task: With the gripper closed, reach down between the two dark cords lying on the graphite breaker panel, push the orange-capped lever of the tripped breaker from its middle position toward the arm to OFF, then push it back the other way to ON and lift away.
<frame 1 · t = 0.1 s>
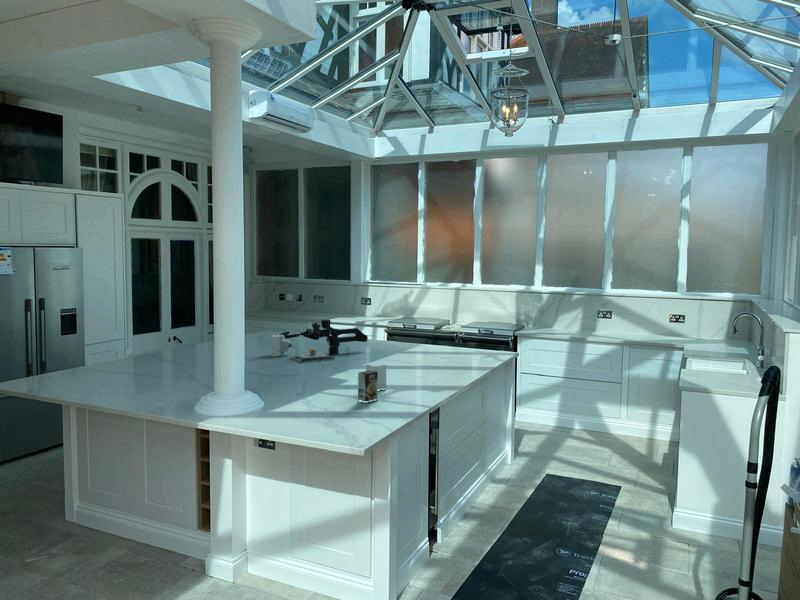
hand: (301, 335, 463), 17 cm above the table, tool horizontal, fingers open, 9 cm apart
breaker panel: (312, 359, 458), on the table
breaker lever: (312, 352, 457), point 5 cm above the table, slide at 0.0 cm
supplement box: (376, 390, 366), on the table
coffee box: (367, 401, 340), on the table
circuit breaker: (281, 355, 471), on the table
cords: (312, 356, 458), in the breaker panel, point 1 cm above the table
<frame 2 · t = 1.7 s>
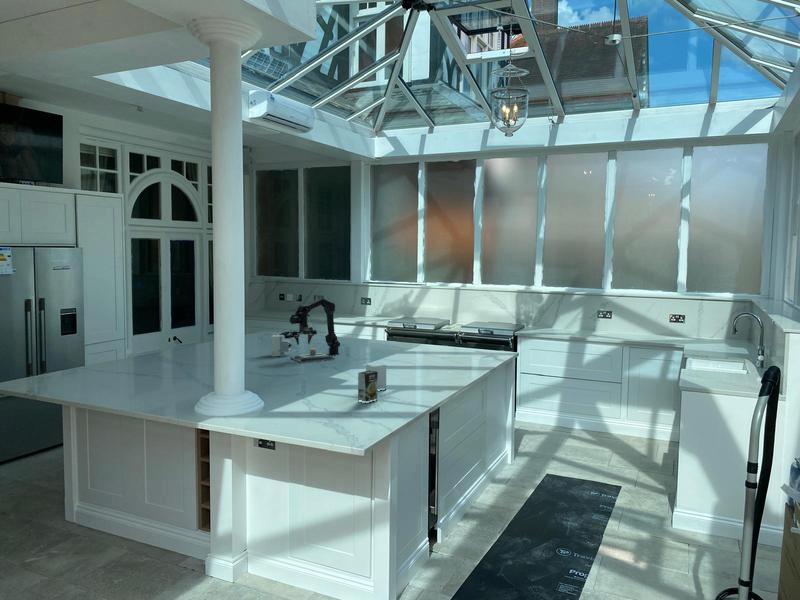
hand: (303, 344, 453), 11 cm above the table, tool pointing down, fingers open, 8 cm apart
nothing on the table moved.
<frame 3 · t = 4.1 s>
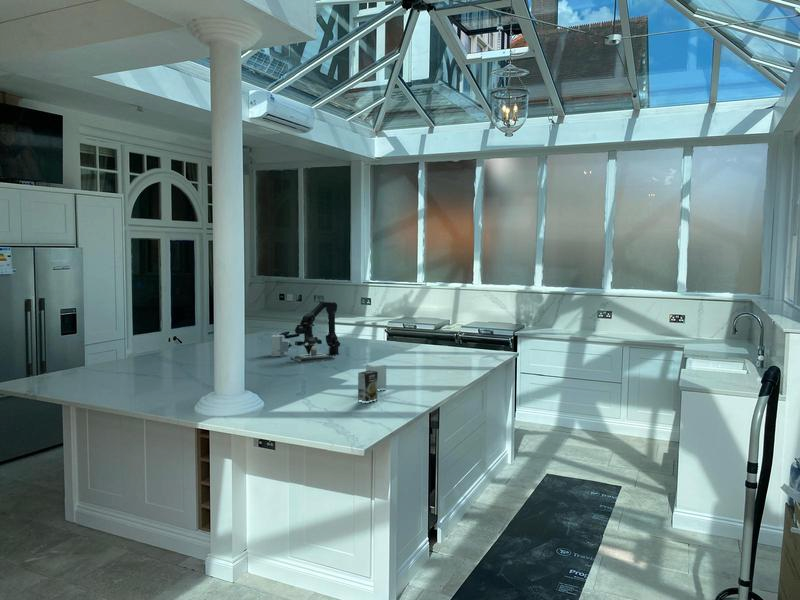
hand: (308, 354, 456), 4 cm above the table, tool pointing down, fingers closed
breaker lever: (313, 352, 458), point 5 cm above the table, slide at -0.8 cm, touching gripper
everything else where it was.
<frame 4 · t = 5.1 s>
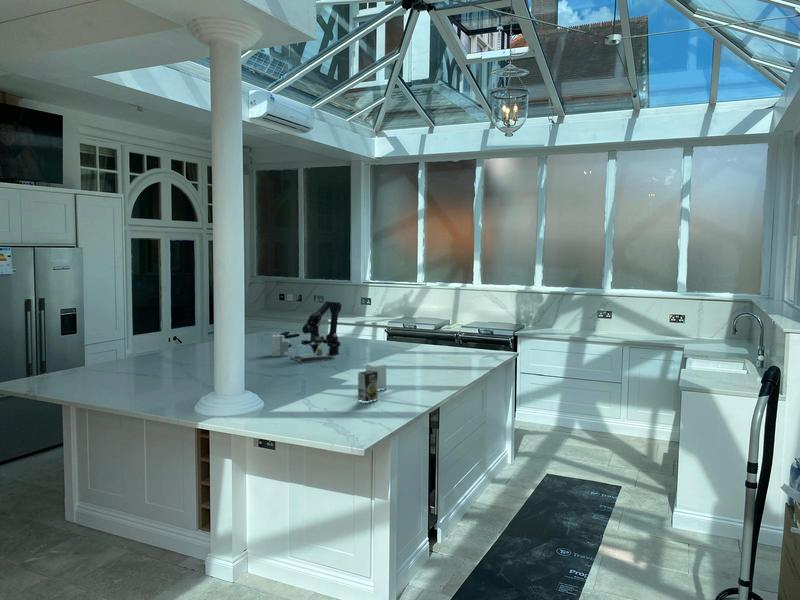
hand: (314, 353, 458), 4 cm above the table, tool pointing down, fingers closed
breaker lever: (319, 352, 460), point 5 cm above the table, slide at -5.2 cm, touching gripper
everything else where it was.
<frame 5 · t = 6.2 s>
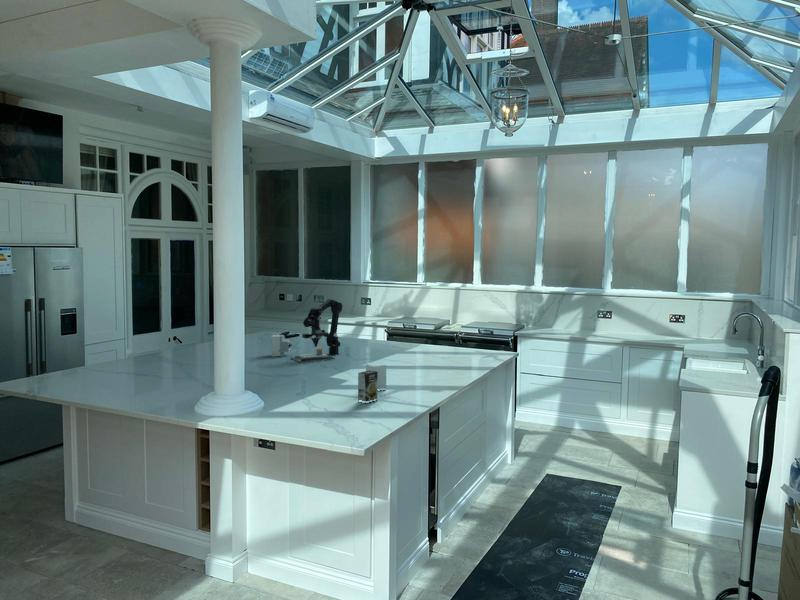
hand: (315, 346, 458), 9 cm above the table, tool pointing down, fingers closed
breaker lever: (319, 352, 460), point 5 cm above the table, slide at -5.1 cm
everything else where it was.
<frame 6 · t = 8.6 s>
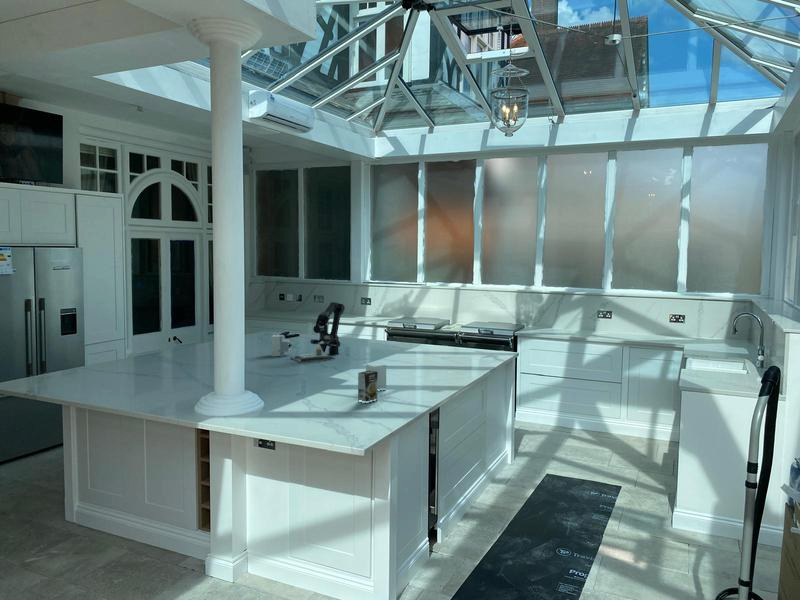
hand: (323, 352, 462), 4 cm above the table, tool pointing down, fingers closed
breaker lever: (318, 352, 460), point 5 cm above the table, slide at -4.7 cm, touching gripper
everything else where it was.
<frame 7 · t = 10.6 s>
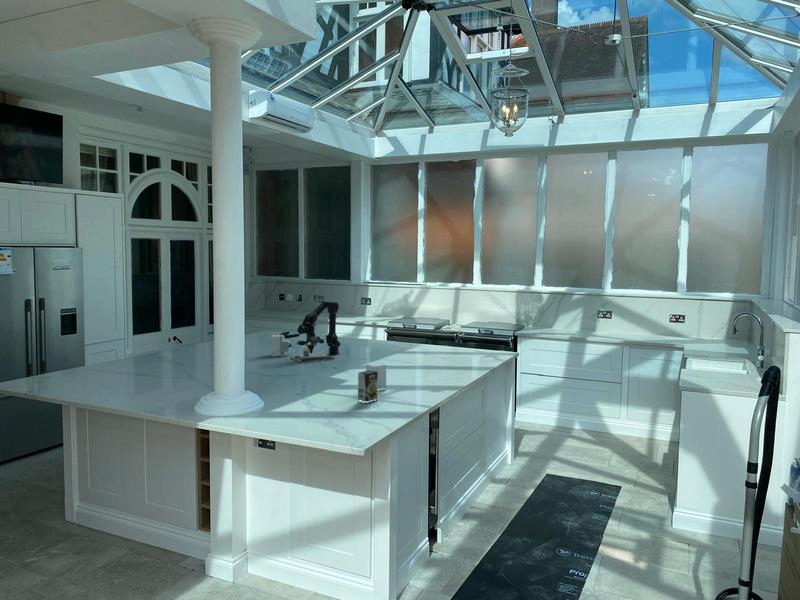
hand: (311, 353, 457), 4 cm above the table, tool pointing down, fingers closed
breaker lever: (306, 353, 455), point 5 cm above the table, slide at 5.2 cm, touching gripper
everything else where it was.
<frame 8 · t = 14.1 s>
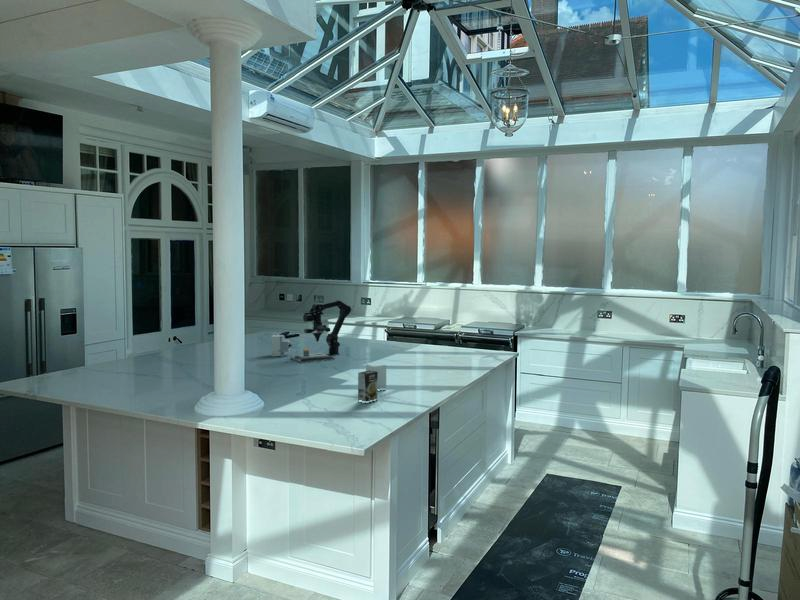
hand: (317, 341, 467), 11 cm above the table, tool pointing down, fingers closed
breaker lever: (306, 353, 455), point 5 cm above the table, slide at 5.1 cm
everything else where it was.
at the end: breaker lever slide at 5.1 cm; circuit breaker moved 0.2 cm from its start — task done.
